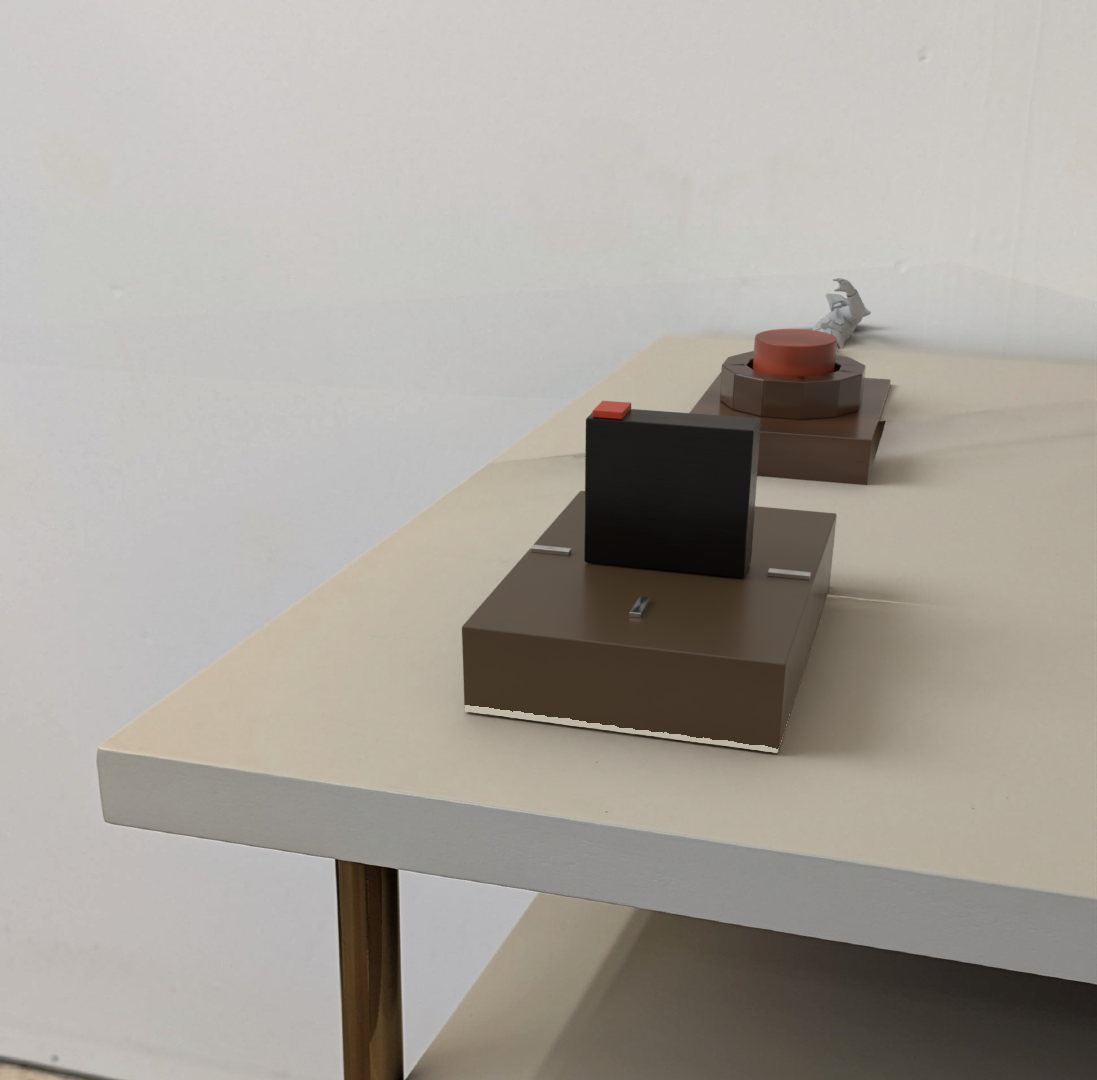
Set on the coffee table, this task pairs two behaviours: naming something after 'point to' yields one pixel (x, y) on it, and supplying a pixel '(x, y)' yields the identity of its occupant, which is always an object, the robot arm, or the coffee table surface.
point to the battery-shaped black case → (670, 490)
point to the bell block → (805, 418)
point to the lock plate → (654, 634)
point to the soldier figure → (842, 313)
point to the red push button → (794, 352)
